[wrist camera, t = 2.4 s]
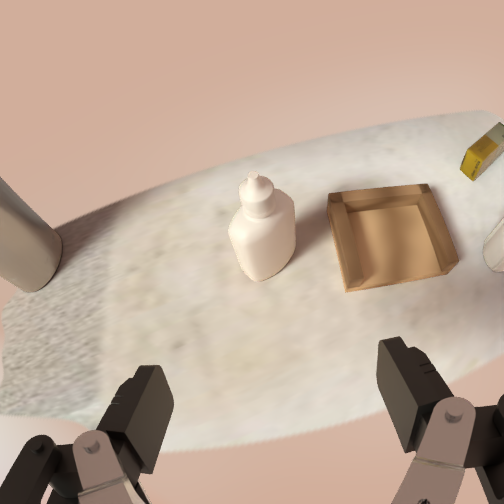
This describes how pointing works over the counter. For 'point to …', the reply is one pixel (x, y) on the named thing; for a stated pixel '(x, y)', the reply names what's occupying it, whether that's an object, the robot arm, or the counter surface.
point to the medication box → (483, 152)
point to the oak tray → (389, 236)
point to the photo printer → (495, 248)
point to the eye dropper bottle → (263, 228)
